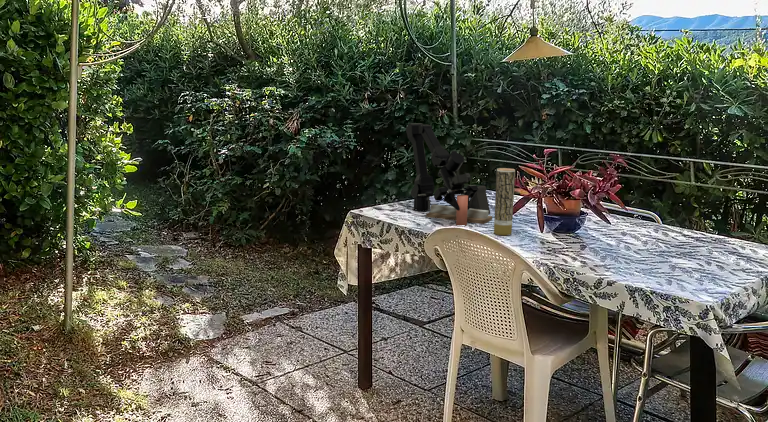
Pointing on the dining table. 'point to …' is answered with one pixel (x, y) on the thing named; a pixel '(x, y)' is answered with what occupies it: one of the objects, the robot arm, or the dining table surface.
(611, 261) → the dining table surface
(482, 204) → the door stopper
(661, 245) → the dining table surface
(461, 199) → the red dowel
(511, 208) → the bark log
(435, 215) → the ridge board
